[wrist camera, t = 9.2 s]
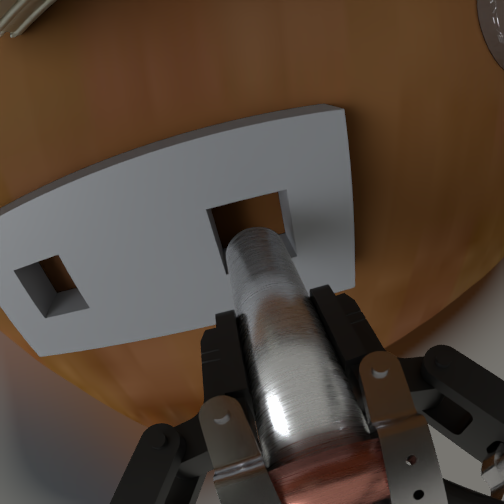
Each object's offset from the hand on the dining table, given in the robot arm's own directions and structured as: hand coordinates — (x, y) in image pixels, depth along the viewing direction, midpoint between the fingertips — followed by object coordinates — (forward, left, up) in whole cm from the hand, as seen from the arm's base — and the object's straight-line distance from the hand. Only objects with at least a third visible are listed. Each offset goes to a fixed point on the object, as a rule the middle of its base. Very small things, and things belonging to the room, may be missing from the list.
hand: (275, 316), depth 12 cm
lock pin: (0, 0, -5) cm, 5 cm away
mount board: (+7, 0, -10) cm, 12 cm away
